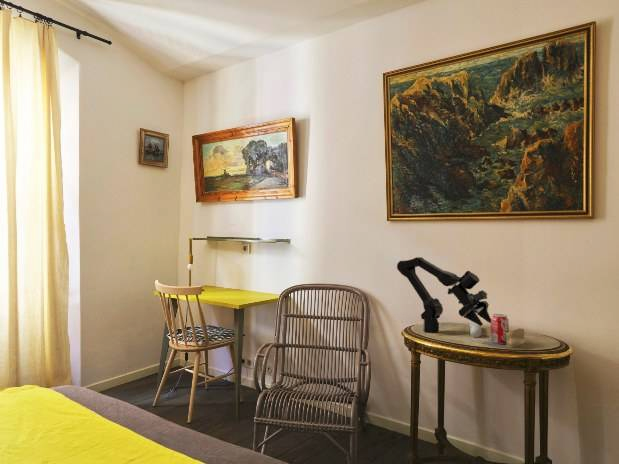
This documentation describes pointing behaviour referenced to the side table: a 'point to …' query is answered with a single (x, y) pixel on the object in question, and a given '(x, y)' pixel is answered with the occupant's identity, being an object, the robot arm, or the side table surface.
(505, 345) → the mat
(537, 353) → the side table surface
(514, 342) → the backstop
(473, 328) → the tube
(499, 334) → the soda can
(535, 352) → the side table surface
